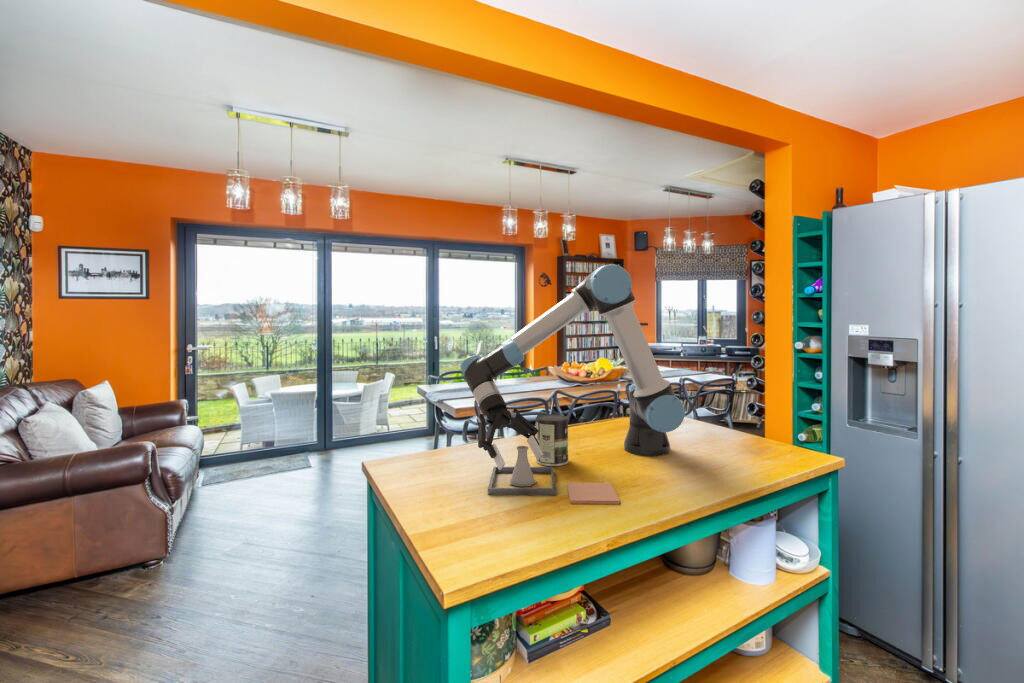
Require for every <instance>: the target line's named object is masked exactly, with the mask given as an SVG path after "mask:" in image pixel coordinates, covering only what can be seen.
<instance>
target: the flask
mask: <svg viewBox="0 0 1024 683" xmlns="http://www.w3.org/2000/svg"><path fill="white" fill-rule="evenodd" d="M528 446H529V445H528ZM528 446H527V445H519V446H516V450H517V456H516V461H515V466H514V467H515V468H514V471H513V473H511V477H510V479H509V480H510V481H509V483H510V485H511V486H516V487H532V486H533V485H534V484H536V479H535V476H534V475H533V474H534V473H532V471H531V468H530V467H531V466H530V463H529V457H528V450H529V447H528Z"/></svg>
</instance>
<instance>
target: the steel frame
mask: <svg viewBox="0 0 1024 683" xmlns="http://www.w3.org/2000/svg"><path fill="white" fill-rule="evenodd" d="M514 468H515V466H504V467H503V468H502V469H501V470H499V469H498V467H497V466H493V468H492V472H491V475H490V480H489V484H488V488H487V495H489V496H490V495H492V496H493V495H496V496H497V495H498V496H500V495H501V496H504V495H505V496H506V495H507V496H512V495H513V496H515V495H516V496H557V485H556V478H555V472H554V466H530V468H531V471H532V474H550V481H551V488H549V487H544V488H543V487H494V485H495V480H496V474H497V473H503V474H504V473H507V474H508V473H511V474H513V471H514Z"/></svg>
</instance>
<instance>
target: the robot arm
mask: <svg viewBox="0 0 1024 683" xmlns="http://www.w3.org/2000/svg"><path fill="white" fill-rule="evenodd" d="M632 281H633V280H632V278H631V275H630V273H629V272H628V271H627V270H626V269H625V268H624V267H623V266H620V265H617V264H612V263H610V264H604V265H601V266H599V267H598V268H596V269H595V270H593V271H591V272H590V273H589V274H588V275H587V276H586V277H585V278H584V279H583V280H582V281H581V282H580V283H579V284H577V286H575V287H574V288H573V289H571V292H570V294H569V295H568V296H566V297H565V298H564V299H562V300H561V301H559V302H558V303H557V304H555V305H554V306H552V307H550V308H549V309H548V310H547V311H545V312H543V313H542V314H541V315H540V316H538V317H537V318H536V319H535V320H532V321H531V322H530V323H529V324H527V325H526V326H524V327H523V328H522V329H520V330H518V332H516V333H515V334H513V335H512V336H511V337H509V338H507V339H506V340H504V342H502V343H499V344H498V345H497V346H496V347H495V348H494V350H493V351H491V352H490V353H489V354H486V355H484V356H483V357H481V356H480V355H477V354H473V355H471V356H468V357H466V358H465V359H464V360H463V361H462V362H461V364H460V371H461V373H462V375H463V379H464V381H465V382H466V384H467V386H468V388H469V389H470V391H471V393H472V395H473V398H474V400H475V401H476V403H477V405H478V408H479V410H480V411H481V413H480V414H479V415H478V417H477V418H476V423H477V426H478V427H477V428H478V429H477V430H478V433H477V434H478V435H477V447H478V448H479V449H483V451H487V453H488V455H489V457H490V458H491V459H493V460H494V462H495V465H496V467H498V469H499V470H501V469H502V468H503V467H505V466H506V462H505V460H504V458H503V457H502V456H503V455H502V454H501V452H500V450H499V448H498V446H497V444H496V443H493V441H494V437H495V434H496V430H498V429H502V428H508V429H512V430H514V431H515V432H516V433H518V434H520V435H521V436H523V437H525V438H526V439H527V440H526V442H527V444H528V446H529V448H530V449H531V452H532V454H534V457H535V459H536V460H539V459H540V458H541V457H542V456H543V455H544V454H543V452H542V451H541V449H540V447H539V442H538V441H537V439H536V434H537V433H538V429H536V427H535V426H534V425H533V424H532V423H531V422H530V421H529V420H528V419H526V418H525V416H523V415H522V414H521V413H520V411H519V409H517V408H515V407H514V409H513V410H510V411H509V410H508V408H507V403H506V401H505V399H504V397H503V395H502V394H501V392H500V389H499V388H498V386H497V385H496V382H495V381H494V380H495V379H496V378H498V377H500V376H501V375H503V374H504V373H506V372H509V370H511V369H513V368H515V367H516V366H518V365H519V364H520V363H522V362H523V361H524V360H525V355H526V354H527V353H528V352H530V351H532V350H533V349H535V348H536V347H538V346H539V345H541V343H543V342H545V341H546V340H547V339H548V338H550V337H551V336H553V335H554V334H555V333H557V332H559V331H560V330H562V329H563V328H565V326H567V325H568V324H571V322H573V321H574V320H576V319H577V318H578V317H580V316H581V315H583V314H584V313H585V314H586V313H587V314H589V313H590V312H592V311H593V310H595V309H597V311H598V315H600V316H602V317H604V318H605V319H606V320H607V323H608V324H609V325H608V326H609V327H610V329H611V332H612V334H613V337H614V339H615V342H616V344H617V347H618V349H619V351H620V354H621V357H622V358H623V361H624V363H625V366H626V367H627V370H628V373H629V376H630V378H631V380H632V382H633V383H632V384H631V385H630V386H629V392H628V395H629V427H628V429H627V433H626V436H625V438H624V439H625V440H624V441H623V443H624V444H623V448H624V450H625V451H626V452H628V453H631V454H634V455H638V456H647V457H659V456H665V455H668V454H669V453H670V452H671V444H670V441H669V438H668V434H667V433H670V432H673V431H675V430H676V429H678V428H679V427H680V426H682V423H683V421H684V420H685V417H686V409H685V406H684V403H683V402H682V401H681V399H680V398H678V397H677V396H676V395H675V392H674V389H673V387H672V384H671V382H670V381H669V380H667V379H664V378H663V376H662V374H661V371H660V370H659V369H660V368H659V367H658V364H657V362H656V360H655V357H654V355H653V351H652V350H651V348H650V345H649V343H648V340H647V337H646V336H645V333H644V331H643V327H642V325H641V323H640V321H639V318H638V316H637V314H636V311H635V308H634V305H635V303H636V298H635V296H634V293H633V290H632V288H633V286H632V285H633V284H632V283H633V282H632ZM486 423H488V424H489V428H488V432H487V431H486V427H487V426H486ZM486 434H487V435H486Z"/></svg>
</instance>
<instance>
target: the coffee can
mask: <svg viewBox="0 0 1024 683" xmlns="http://www.w3.org/2000/svg"><path fill="white" fill-rule="evenodd" d="M535 423H536V425H535V426H536V427H535V428H536V429H538V433H537V434H536V435H535V437H536V439H537V441H538V442H539V447H540V449H541V451H542V452H543V454H544V455H543V456H542V457H541V458H540V459H539V460H537V459H536V460H535V461H536V463H537V464H538V465H541V466H544V467H561V466H564V465H567V464H568V463H569V416H566V415H562V414H552V413H551V414H549V413H548V414H540V415H538V416H536V417H535Z"/></svg>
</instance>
